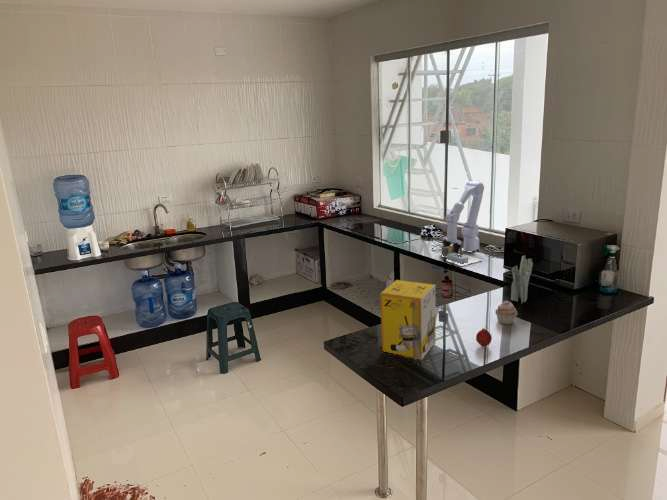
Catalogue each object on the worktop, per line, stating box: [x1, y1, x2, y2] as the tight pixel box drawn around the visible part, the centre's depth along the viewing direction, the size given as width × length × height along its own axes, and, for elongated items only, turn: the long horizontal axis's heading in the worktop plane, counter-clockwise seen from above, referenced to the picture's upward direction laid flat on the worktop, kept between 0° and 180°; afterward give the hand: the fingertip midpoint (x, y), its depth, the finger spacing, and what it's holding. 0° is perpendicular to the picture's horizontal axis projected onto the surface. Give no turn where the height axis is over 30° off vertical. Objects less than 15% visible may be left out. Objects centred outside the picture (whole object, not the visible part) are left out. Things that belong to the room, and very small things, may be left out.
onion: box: [475, 327, 493, 348], centre depth 195 cm, size 6×6×8 cm
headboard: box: [446, 253, 482, 264], centre depth 299 cm, size 16×14×4 cm
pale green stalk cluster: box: [510, 255, 534, 304], centre depth 236 cm, size 28×7×20 cm, turn 148°
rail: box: [441, 244, 463, 256], centre depth 311 cm, size 13×4×6 cm, turn 119°
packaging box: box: [379, 279, 437, 360], centre depth 195 cm, size 16×16×25 cm
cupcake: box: [495, 300, 518, 326], centre depth 214 cm, size 9×9×10 cm
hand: (451, 253), depth 311 cm, fingers open, 7 cm apart
